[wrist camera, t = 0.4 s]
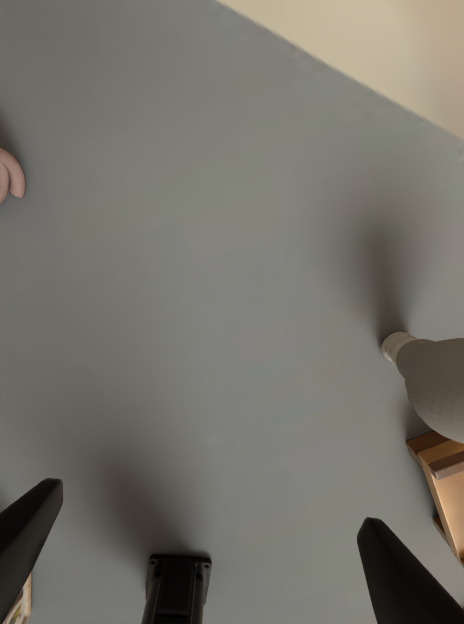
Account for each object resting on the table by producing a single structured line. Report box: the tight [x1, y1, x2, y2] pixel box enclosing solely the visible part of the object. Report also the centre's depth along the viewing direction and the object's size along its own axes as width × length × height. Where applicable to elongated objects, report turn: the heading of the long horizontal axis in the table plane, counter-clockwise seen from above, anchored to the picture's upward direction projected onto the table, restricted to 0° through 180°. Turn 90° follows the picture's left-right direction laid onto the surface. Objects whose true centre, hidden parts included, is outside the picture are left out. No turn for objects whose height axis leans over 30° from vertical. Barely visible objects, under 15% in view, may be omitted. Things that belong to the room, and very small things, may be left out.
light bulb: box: [381, 332, 464, 444], centre depth 17 cm, size 6×6×10 cm
